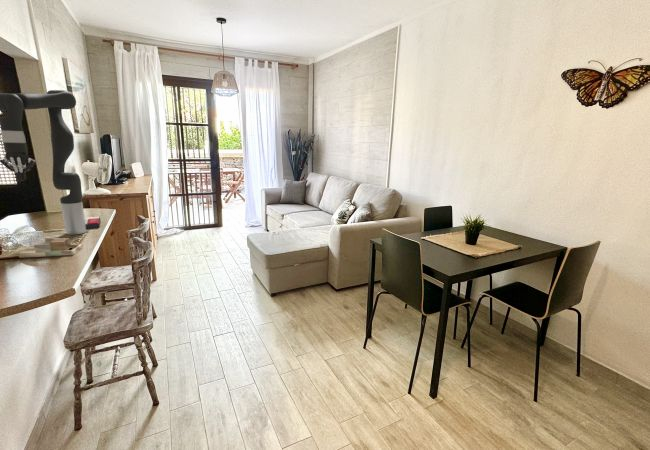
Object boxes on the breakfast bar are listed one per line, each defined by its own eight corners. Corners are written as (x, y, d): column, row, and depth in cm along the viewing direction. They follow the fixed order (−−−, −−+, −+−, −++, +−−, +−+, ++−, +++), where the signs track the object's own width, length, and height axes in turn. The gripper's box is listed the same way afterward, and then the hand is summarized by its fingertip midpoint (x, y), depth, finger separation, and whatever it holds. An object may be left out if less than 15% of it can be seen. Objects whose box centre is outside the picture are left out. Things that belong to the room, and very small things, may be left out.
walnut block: (56, 246, 150) (55, 238, 149) (70, 246, 152) (69, 238, 151) (50, 250, 145) (49, 242, 144) (65, 249, 147) (63, 241, 146)
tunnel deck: (31, 250, 150) (29, 239, 149) (83, 247, 156) (81, 237, 155) (19, 257, 141) (16, 245, 139) (74, 254, 147) (72, 243, 145)
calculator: (75, 224, 183) (78, 217, 195) (76, 231, 184) (79, 224, 196) (98, 222, 189) (99, 215, 201) (99, 229, 190) (100, 222, 202)
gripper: (37, 142, 147) (44, 179, 152) (1, 140, 144) (9, 179, 148) (28, 142, 140) (35, 181, 145) (-10, 141, 137) (-2, 181, 141)
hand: (22, 180), depth 146 cm, fingers closed
